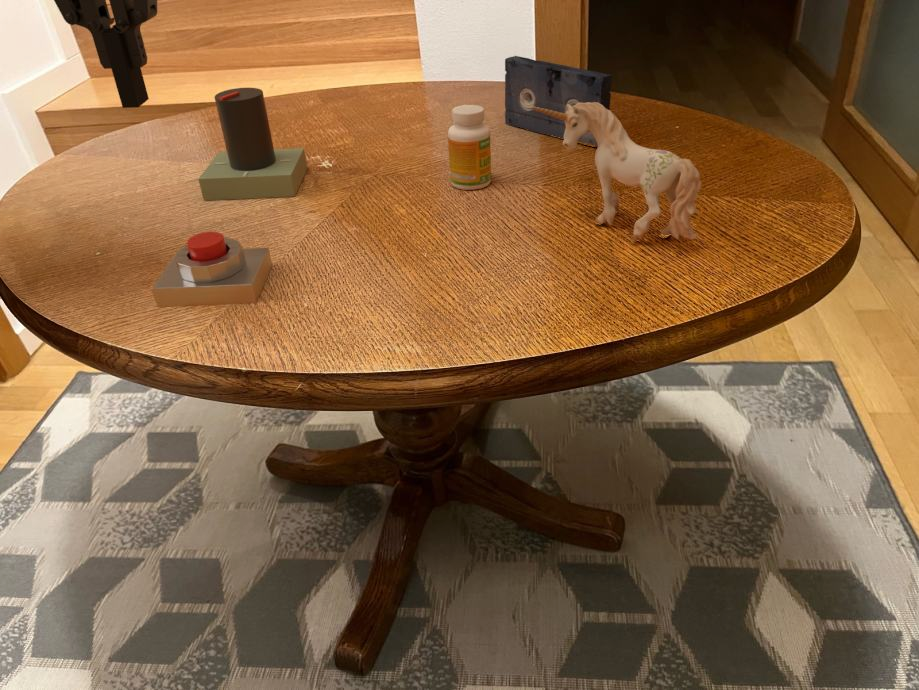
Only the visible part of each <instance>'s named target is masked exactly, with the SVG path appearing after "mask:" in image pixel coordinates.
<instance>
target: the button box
mask: <svg viewBox="0 0 919 690" xmlns="http://www.w3.org/2000/svg"><path fill="white" fill-rule="evenodd" d="M224 240H225V244H226V248H227V254H225V255H224V256H222V257H220V258H218V259H214V260H210V261H193V260H192V259H191V257H190V253H189V250H188V246H187V244H186V245H184V246H182V247H181V248H179V249H178V250H177V251H176V252H175V254H174V255H173V256H172V258H171V259H170V261H169V262H168V264H167V265H166V266H165V268H164V269H163V271H162V273H161V274H160V275H159V276H158V279H157V280H156V281H155V283H154V284H153V286H152V288H151V291H152V295H153V297H154V300H155V303H156V307H157V308H166V307H167V308H168V307H169V308H170V307H171V308H172V307H192V306H193V307H195V306H214V305H215V306H219V305H239V304H244V305H245V304H257V303H258V300H259V298H260V295H261V293H262V292H263V291H262V290H263V288H264V286H265V283H266V282H267V279H268V277H269V274H270V272H271V269H272V267H273V261H272V256H271V251H270V248H269V247H255V248H254V247H253V248H243V246H242V245H241V243H240V242H239V241H238V239H233V238H230V237H226V236H224Z"/></svg>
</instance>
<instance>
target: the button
mask: <svg viewBox="0 0 919 690" xmlns="http://www.w3.org/2000/svg"><path fill="white" fill-rule="evenodd" d="M224 237H225V236H224V235H223V234H222V233H221V232H217V231H205V232H200V233H197V234H194V235H192V236H190V237H189V238H188V239H187V241H186V245H187V246H188V250H189V253H190V257H191V259H192V260H193V261H210V260H214V259H218V258H220V257H222V256H224V255H225V254H227V248H226V244H225V240H224Z"/></svg>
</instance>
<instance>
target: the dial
mask: <svg viewBox="0 0 919 690" xmlns="http://www.w3.org/2000/svg"><path fill="white" fill-rule="evenodd" d="M264 95H265V94H264V92H263V90H262V88H261V89H260V88H258V87H236V88H231V89H226V90H222V91H220V92H218V93H216V94H215V95H214V101H215V106H216V110H217V115H218V119H219V122H220V128H221V132H222V136H223V141H224V145H225V150H226V152H227V154H228V158H229V163H230V166H231V168H233V169H236V170H243V171H248V170H257V169H262V168H265V167H268V166H270V165H272V164H273V163H274V162H275V161H276V158H275V153H274V150H275V148H274V143H273V138H272V133H271V127H270V122H269V117H268V112H267V106H266V101H265V97H264Z"/></svg>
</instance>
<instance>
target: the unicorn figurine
mask: <svg viewBox="0 0 919 690" xmlns="http://www.w3.org/2000/svg"><path fill="white" fill-rule="evenodd" d="M567 107H568V110H569V111H567V112H566V113H565V114H564V113H559V112H557V111H552V110H548V109H543V108H539V107H535V106H532V107H531V108H532V109H533V110H536V111H538V112H541V113H544V114H547V115H549V116H553V117H555V118H558V119H560V120H563V121H565V125H566V129H565V132H564V140H562V146H563V147H564V148H565V149H566V150H567V151H568V152H569V151H573V150H574V149H576V148H578V144H577V141H578V140H579V138H580V137H581V135H583V134H585V133H586V132H587V131H588V130H589V131H590V132H591V133H592V134H593V136H594V137H595V139H596V141H597V145H598V147H597V148H596V150H595V153H594V164H595V166H596V171H597V173H598V180H599V182H600V186H601V195H602V200H603V211H602V213H601V214H599V215H597V217H596V219H595V220H594V223H595V222H596V223H600V224H603V223H604V224H605V223H606V222H607V224H608V225H609V226H610V225H612V226H613V225H614V219H615V217H616V215H617V214H616V211H618V210H620V198H619V196H618V195H617V194H616V192H614V191H612V181H613V180H616V181H617V182H619V183H621V184H623V185H625V186H627V187H635V188H639V187H641V190H642V192H643V193H644V199H645V201H646V204H647V207H648V210H647V212H646V213H645V214H644V215H643V216H642V217H640V218H639V219H637V220H636V221H635V223H634V225H633V231H632V232H633V235H632V236H633V237H632V241H633V240H635V242H638V241H637V240H639V239H640V238H642V239H644V238H645V237H646V235H645V234H646V233H647V232H648V231H649V230H650V228H651V221H652V220H654V219H656V218H658V217H660V216H661V215H662V211H661V207H660V196H661V194H662V193H664V195H665V197H666V199H667V201H668V202H669V206H670V207H669V214H670V219H669V222H668V225H667V226H666V227H663V228H662V229H661V230H660V232H661V233H662V234H664V235H669V234H672V236H671V237H672V238H674V237H675V239H676V240H679V239H680V236H682V237H683V238H685V239H688V240H692V241H693V240H696V239H697V234H696V233H695V232H694V228H693V226H692V224H691V217H692V215H694V214H695V213H697V207H696V205H695V201H696V200H697V198H698V196H699V193H700V192H699V191H700V190H701V188H702V181H701V180H700V178H701V175H700V172H699V170H698V168H697V167H696V166H695V165H694V163H693V162H692V161H691V159H689V158H681V157H680V156H678V155H677V154H675V153H674V152H672V151H669V150H665V149H657V148H655V149H654V148H648V147H646V146H645V147H644V146H643V145H639V144H637V143H635V142H634V141H633V140H632V139H631V138H630V137H629V135H628V132H627V130H626V129H625V128H624V126H623V123H622V122H621V121H620V120H619V118H618V117H617V116H616V115H615V114H614V113H613V112H612V110H611V109H610V110H608V109H606V108H605V107H604V106H603V105H601V104H600V103H597V102H593V103H590V102H587V103H582V102H581V103H577V104H576V105H575V106H570V105H569V104H567ZM618 212H619V211H618ZM615 214H616V215H615ZM596 223H595V224H596ZM604 224H603V225H604ZM639 241H640V240H639Z"/></svg>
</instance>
